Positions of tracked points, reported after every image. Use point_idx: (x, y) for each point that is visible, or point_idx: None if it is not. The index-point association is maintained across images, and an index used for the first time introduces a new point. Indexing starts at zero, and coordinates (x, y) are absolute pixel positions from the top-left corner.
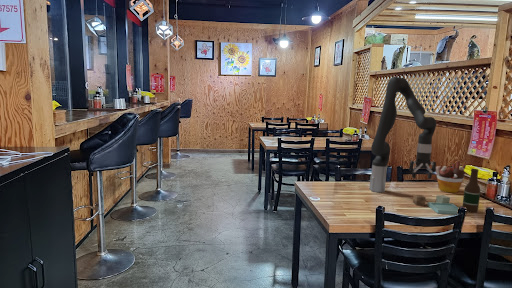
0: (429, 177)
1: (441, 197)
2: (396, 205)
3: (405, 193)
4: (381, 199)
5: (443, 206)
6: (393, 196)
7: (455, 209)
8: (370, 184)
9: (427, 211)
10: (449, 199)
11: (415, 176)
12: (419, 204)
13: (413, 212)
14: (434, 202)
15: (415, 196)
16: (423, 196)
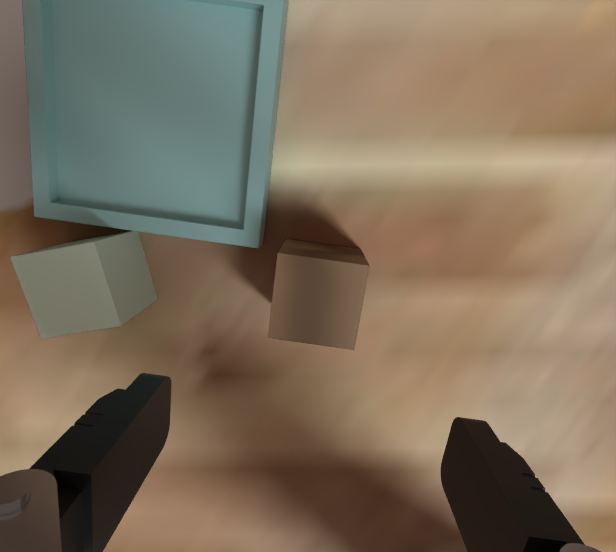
0: (150, 393)
1: (100, 260)
2: (550, 240)
3: (281, 531)
4: (581, 396)
5: (151, 158)
6: (425, 466)
7: (77, 65)
8: None
9: (355, 69)
10: (29, 252)
11: (479, 445)
12: (333, 246)
13: (513, 34)
14: (195, 238)
15: (362, 301)
16: (282, 289)
